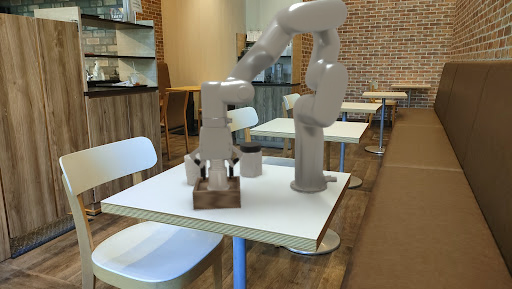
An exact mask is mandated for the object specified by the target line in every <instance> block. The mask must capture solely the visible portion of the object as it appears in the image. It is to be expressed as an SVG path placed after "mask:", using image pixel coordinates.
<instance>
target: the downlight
mask: <svg viewBox="0 0 512 289" xmlns="http://www.w3.org/2000/svg"><path fill="white" fill-rule="evenodd" d="M225 161H226V160H223V159H216V160H209V167H207V175H208V176H207V177H208V179H209V185H208V186H207V189H208V190H228V189H229V187H230V186H229V185H228V184H227V176H228V167H227V166H226V162H225Z"/></svg>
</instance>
